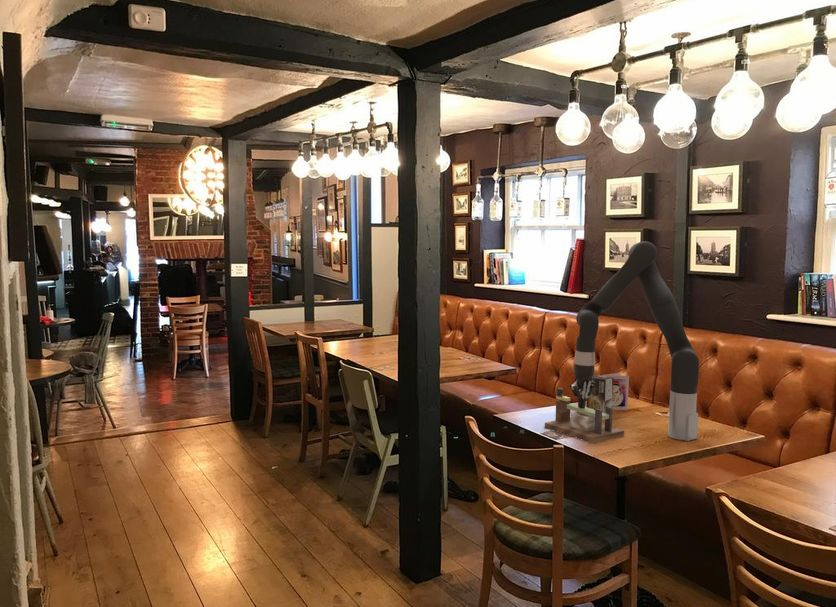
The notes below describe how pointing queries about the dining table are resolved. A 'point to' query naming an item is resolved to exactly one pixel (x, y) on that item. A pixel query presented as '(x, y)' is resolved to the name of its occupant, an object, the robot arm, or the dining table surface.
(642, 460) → the dining table surface
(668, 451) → the dining table surface
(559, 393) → the bolt
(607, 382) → the coffee box
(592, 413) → the pale green flat bar
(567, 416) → the latch base
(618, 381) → the greeting card
